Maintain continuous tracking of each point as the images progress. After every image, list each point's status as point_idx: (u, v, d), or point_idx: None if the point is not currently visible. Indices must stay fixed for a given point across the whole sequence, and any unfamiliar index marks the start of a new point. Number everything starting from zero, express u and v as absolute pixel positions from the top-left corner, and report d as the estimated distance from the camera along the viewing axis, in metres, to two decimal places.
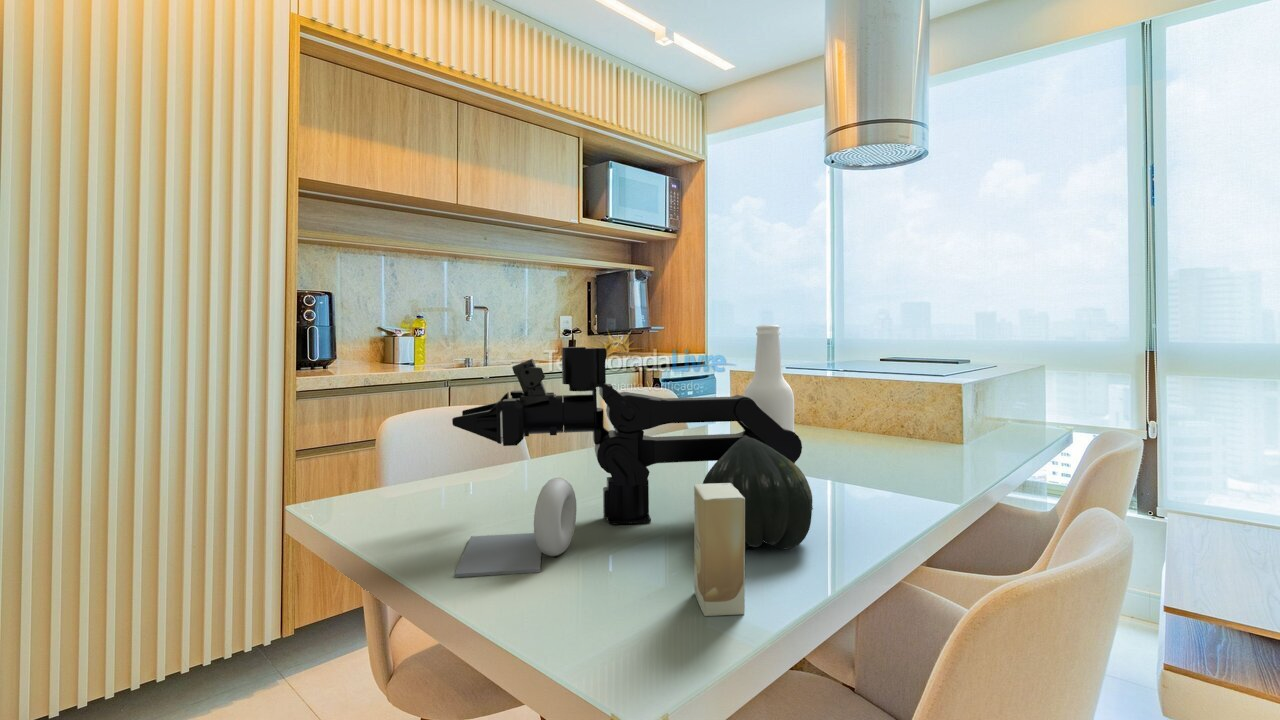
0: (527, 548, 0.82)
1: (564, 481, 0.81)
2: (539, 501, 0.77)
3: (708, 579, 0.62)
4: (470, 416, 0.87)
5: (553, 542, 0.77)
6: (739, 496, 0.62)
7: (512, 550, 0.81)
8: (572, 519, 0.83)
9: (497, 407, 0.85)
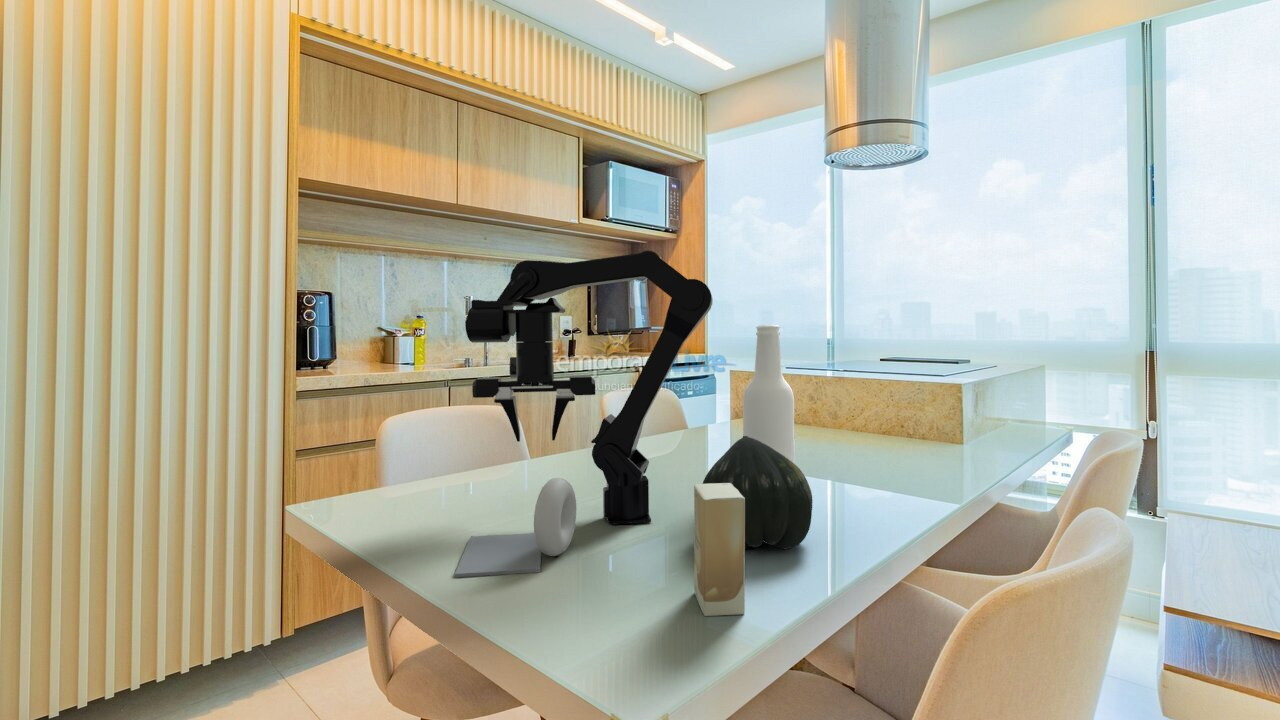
0: (527, 548, 0.82)
1: (564, 481, 0.81)
2: (539, 501, 0.77)
3: (708, 579, 0.62)
4: None
5: (552, 542, 0.77)
6: (739, 496, 0.62)
7: (512, 550, 0.81)
8: (572, 519, 0.83)
9: None
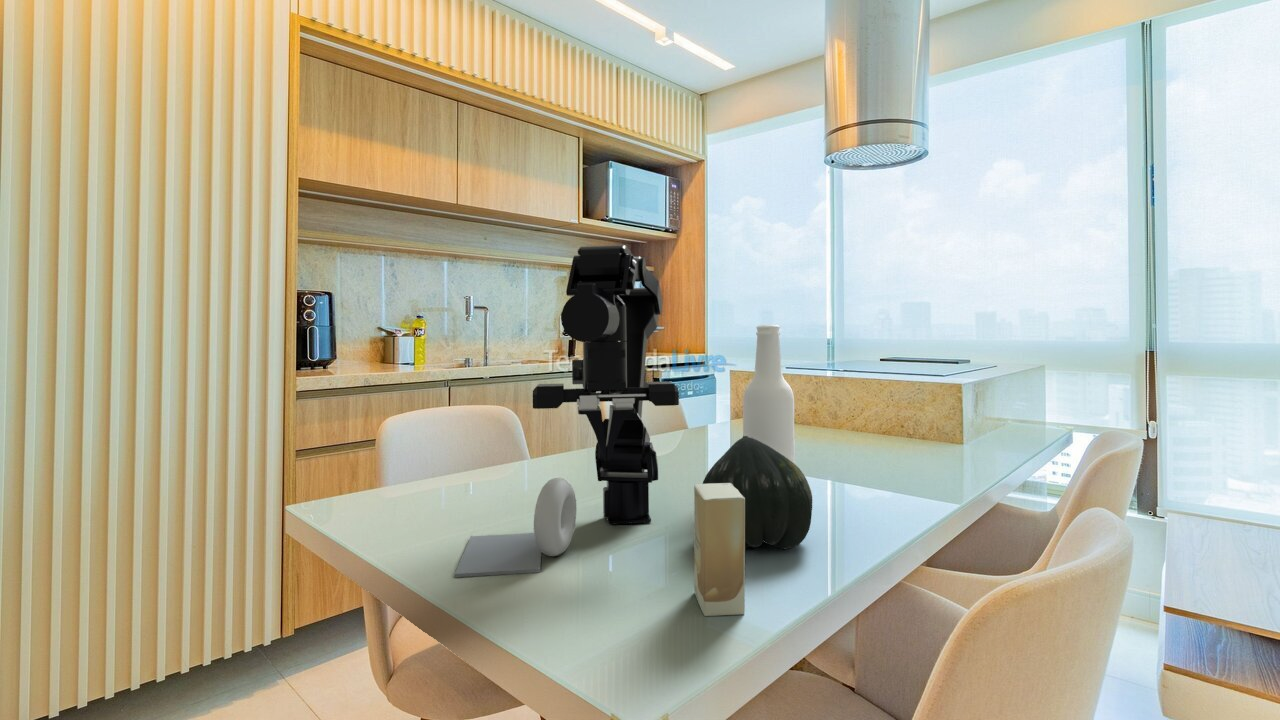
0: (527, 548, 0.82)
1: (564, 481, 0.81)
2: (539, 501, 0.77)
3: (708, 579, 0.62)
4: None
5: (552, 542, 0.77)
6: (739, 496, 0.62)
7: (512, 550, 0.81)
8: (572, 519, 0.83)
9: None
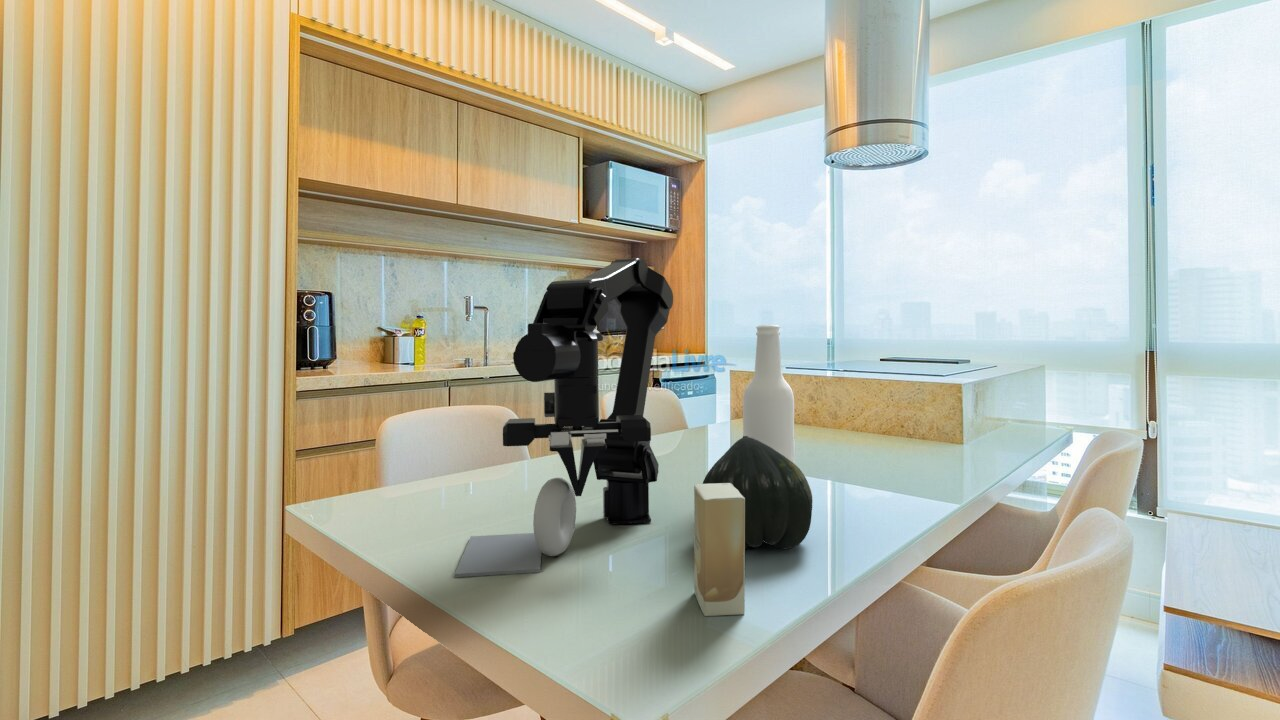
0: (527, 548, 0.82)
1: (563, 481, 0.81)
2: (538, 501, 0.77)
3: (708, 579, 0.62)
4: None
5: (552, 542, 0.77)
6: (739, 496, 0.62)
7: (512, 550, 0.81)
8: (572, 519, 0.83)
9: None
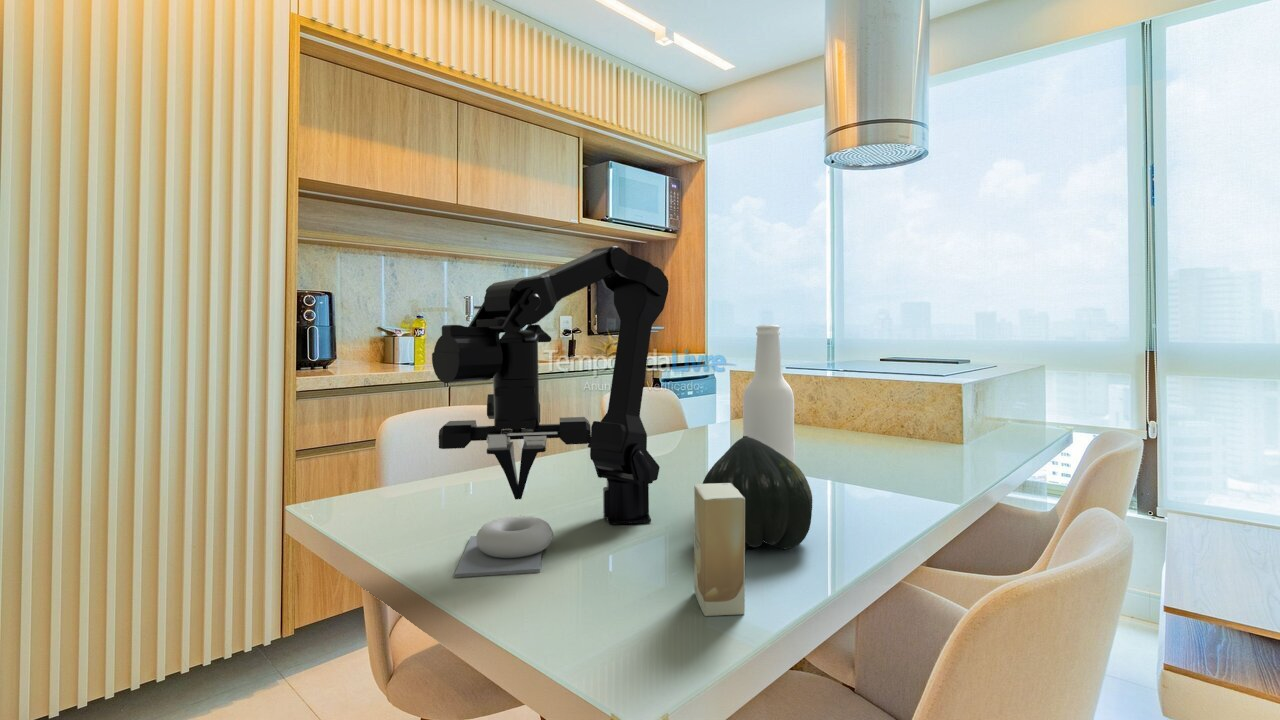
0: None
1: None
2: (479, 548, 0.80)
3: (708, 579, 0.62)
4: None
5: (506, 539, 0.77)
6: (739, 496, 0.62)
7: None
8: (532, 521, 0.83)
9: None
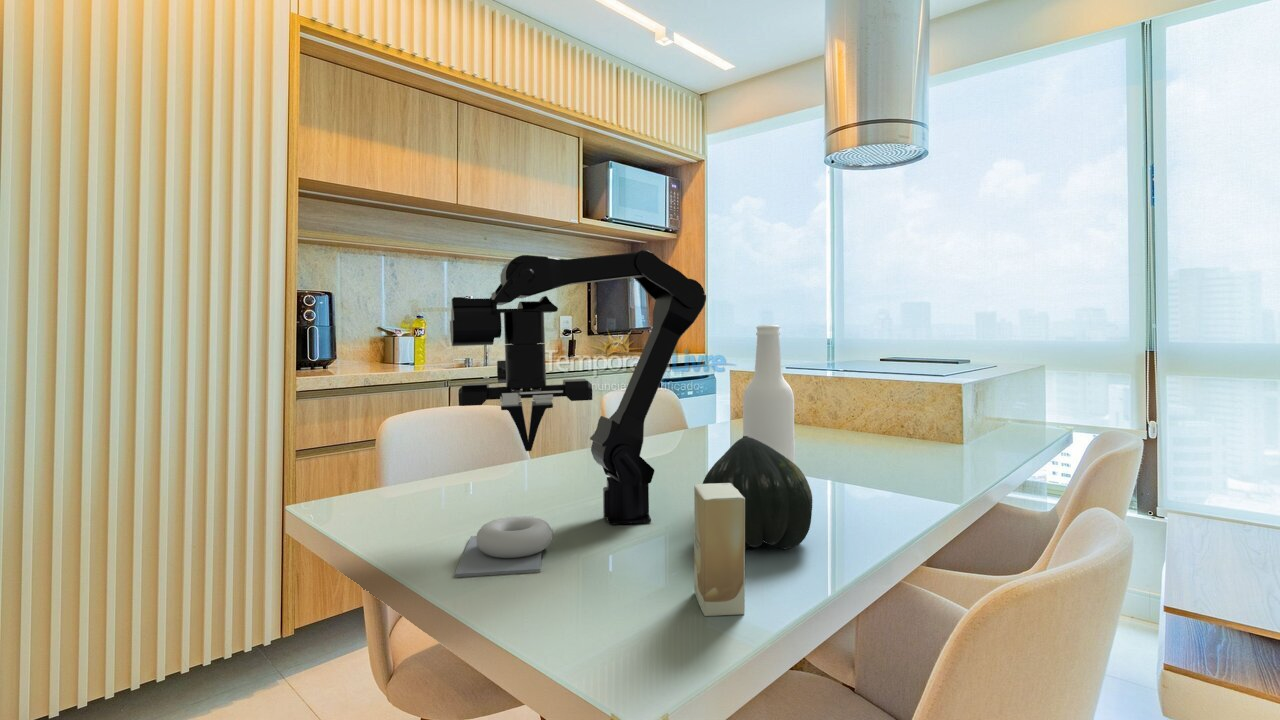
0: None
1: None
2: (479, 548, 0.80)
3: (708, 579, 0.62)
4: None
5: (506, 539, 0.77)
6: (739, 496, 0.62)
7: None
8: (532, 521, 0.83)
9: None
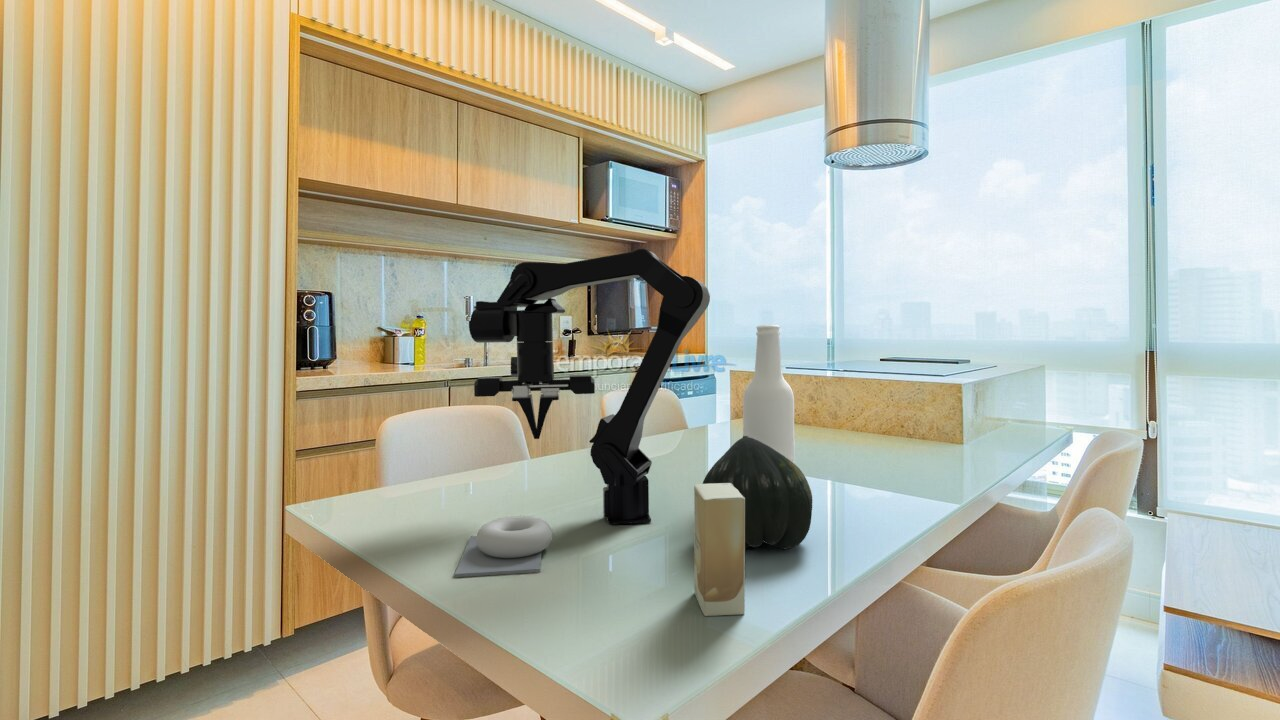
0: None
1: None
2: (479, 548, 0.80)
3: (708, 579, 0.62)
4: None
5: (506, 539, 0.77)
6: (739, 496, 0.62)
7: None
8: (532, 521, 0.83)
9: None
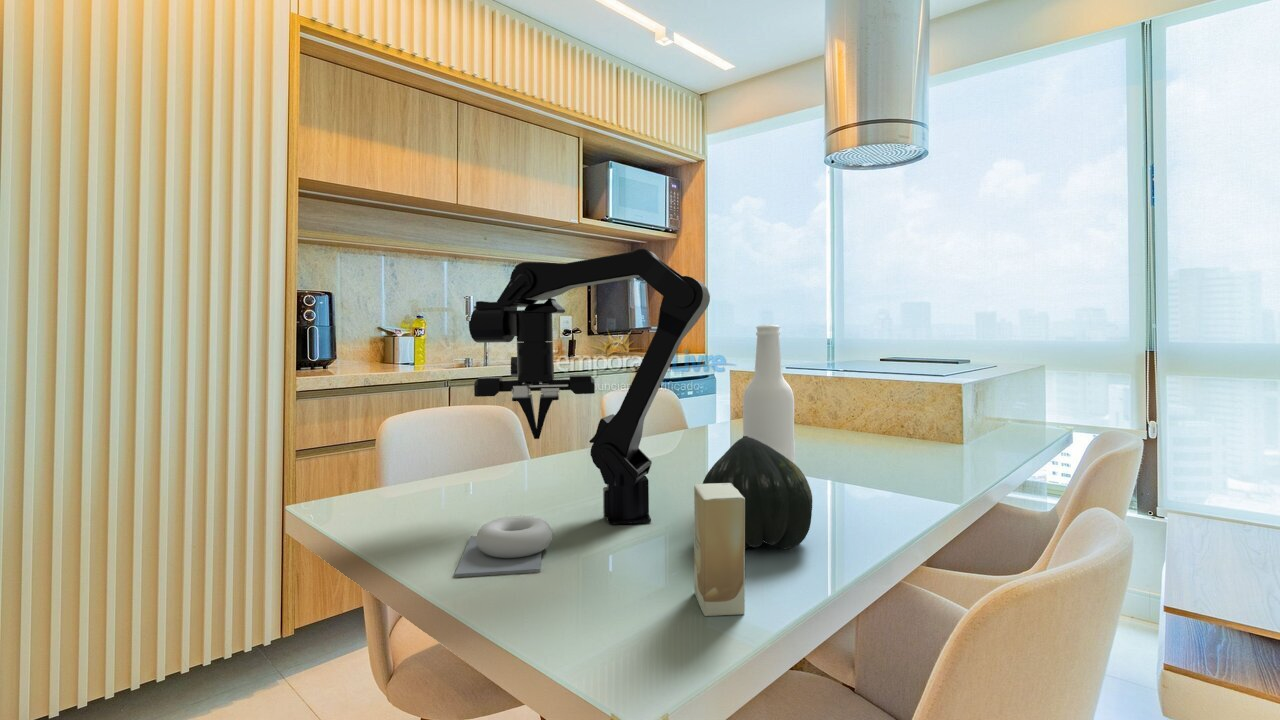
0: None
1: None
2: (479, 548, 0.80)
3: (708, 579, 0.62)
4: None
5: (506, 539, 0.77)
6: (739, 496, 0.62)
7: None
8: (532, 521, 0.83)
9: None
